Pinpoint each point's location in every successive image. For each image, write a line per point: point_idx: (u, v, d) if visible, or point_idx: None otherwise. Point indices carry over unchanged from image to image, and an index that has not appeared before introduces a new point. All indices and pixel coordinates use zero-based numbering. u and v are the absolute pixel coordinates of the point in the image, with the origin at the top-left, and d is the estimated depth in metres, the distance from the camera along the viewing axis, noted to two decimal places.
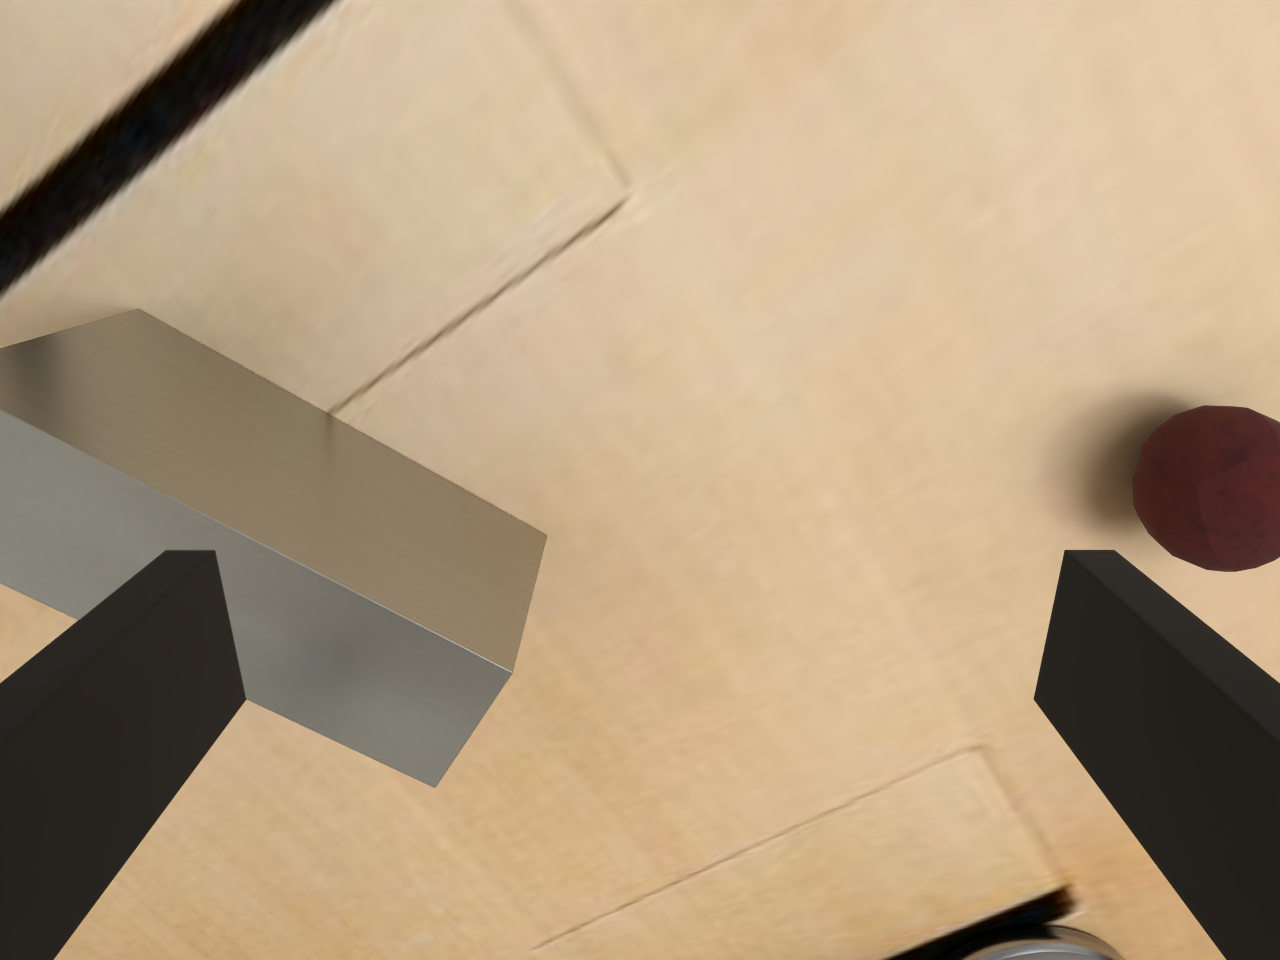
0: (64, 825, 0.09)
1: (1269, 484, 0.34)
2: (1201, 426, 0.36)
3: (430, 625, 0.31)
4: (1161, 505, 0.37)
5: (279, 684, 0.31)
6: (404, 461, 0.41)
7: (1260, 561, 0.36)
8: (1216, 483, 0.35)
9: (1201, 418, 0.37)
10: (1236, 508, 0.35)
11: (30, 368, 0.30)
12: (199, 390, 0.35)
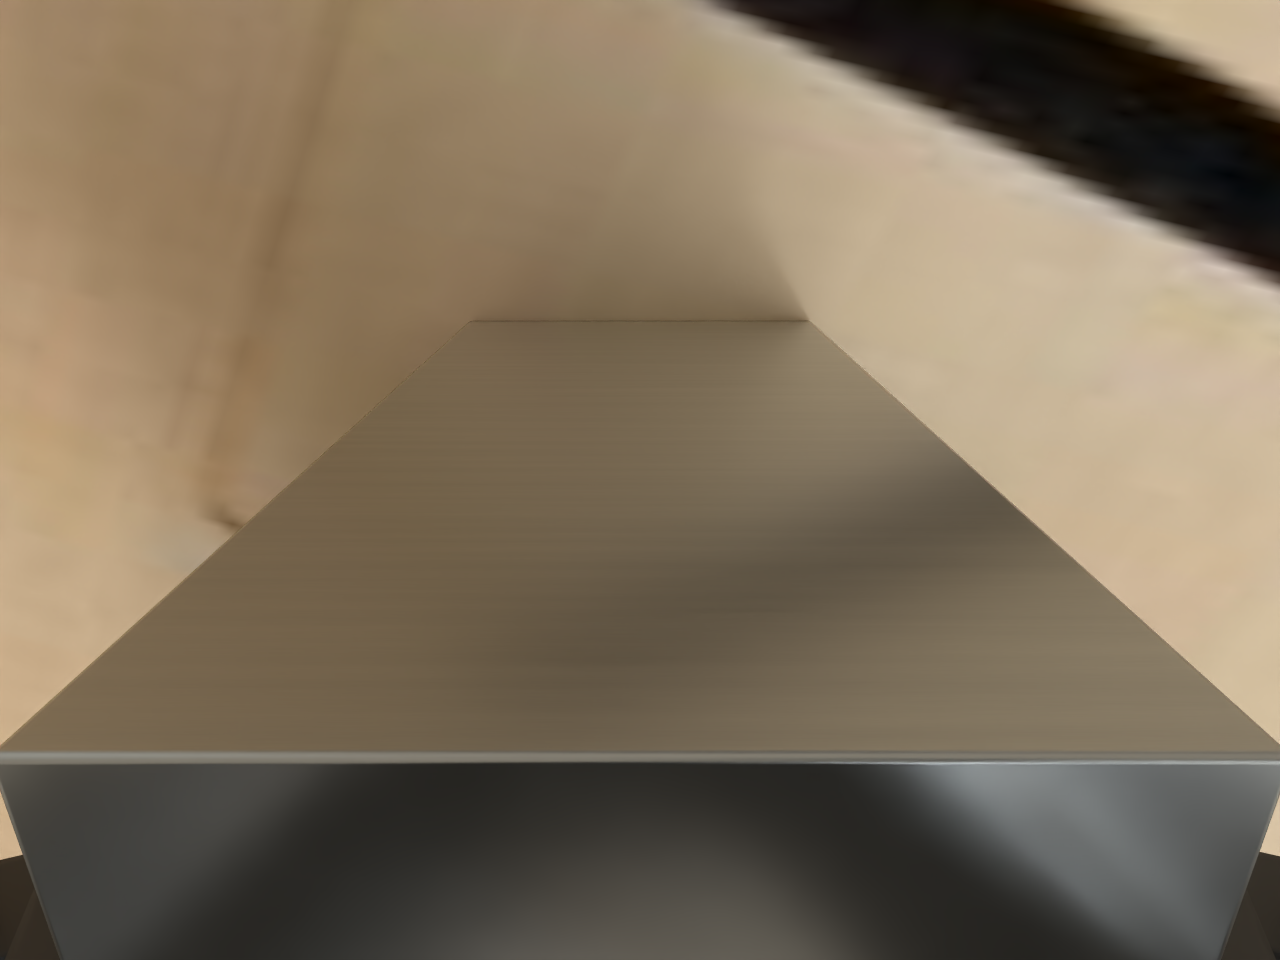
0: None
1: None
2: None
3: None
4: None
5: None
6: None
7: None
8: None
9: None
10: None
11: None
12: None
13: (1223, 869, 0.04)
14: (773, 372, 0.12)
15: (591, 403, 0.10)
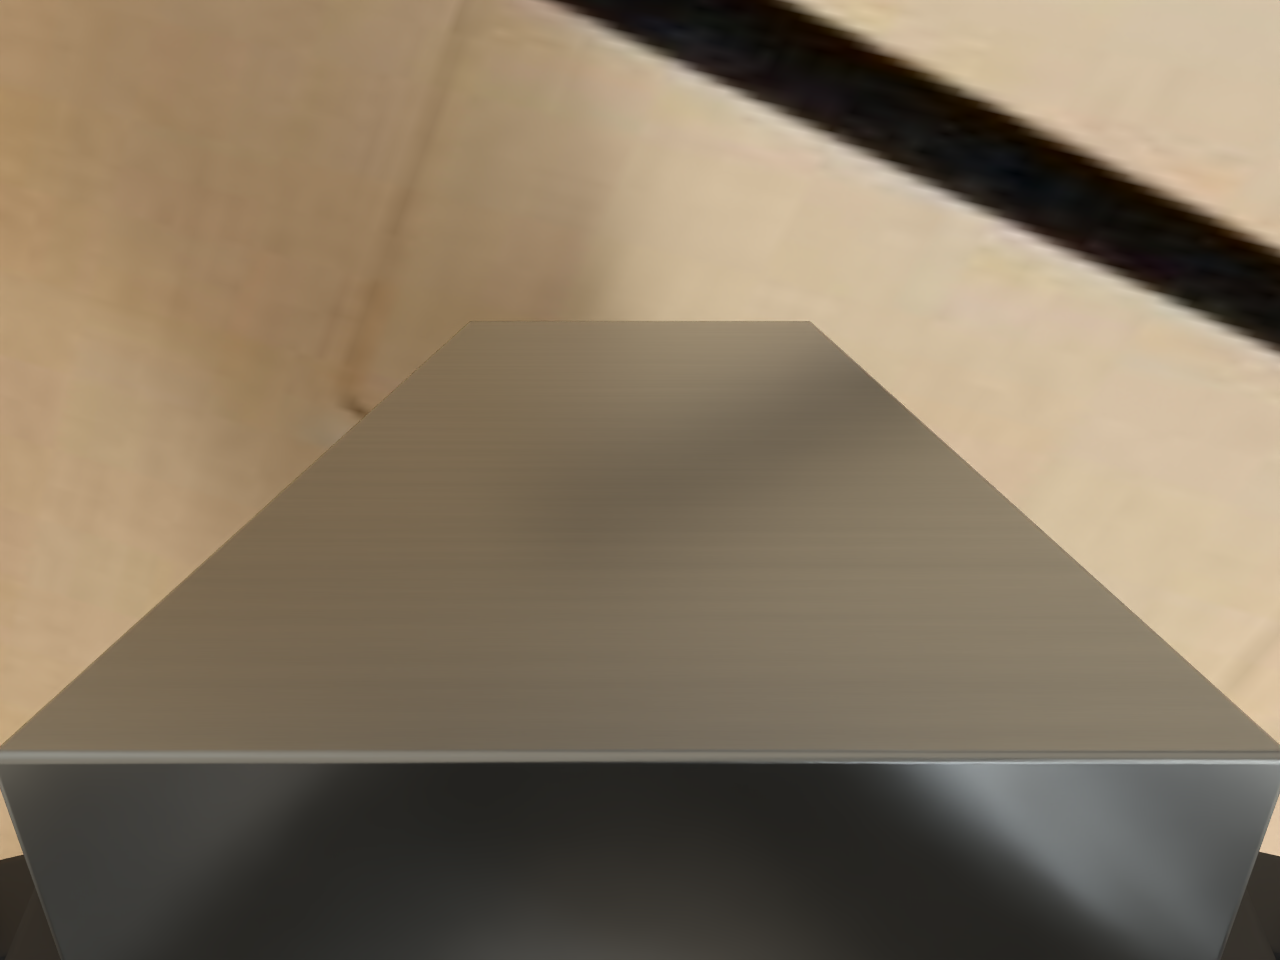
0: None
1: None
2: None
3: None
4: None
5: None
6: None
7: None
8: None
9: None
10: None
11: None
12: None
13: (1222, 866, 0.04)
14: (773, 372, 0.12)
15: (591, 404, 0.10)
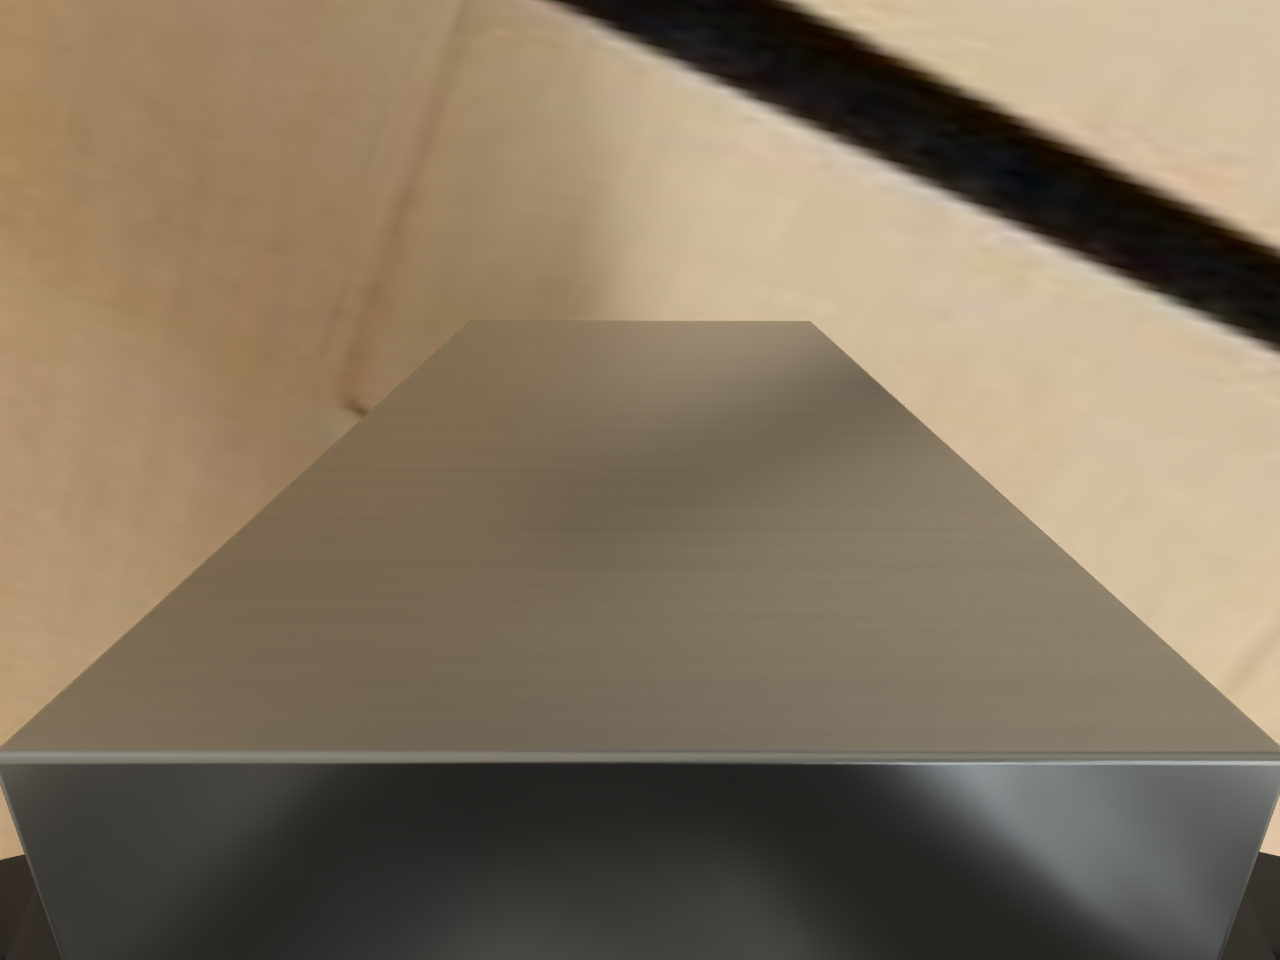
0: None
1: None
2: None
3: None
4: None
5: None
6: None
7: None
8: None
9: None
10: None
11: None
12: None
13: (1224, 868, 0.04)
14: (773, 372, 0.12)
15: (592, 403, 0.10)
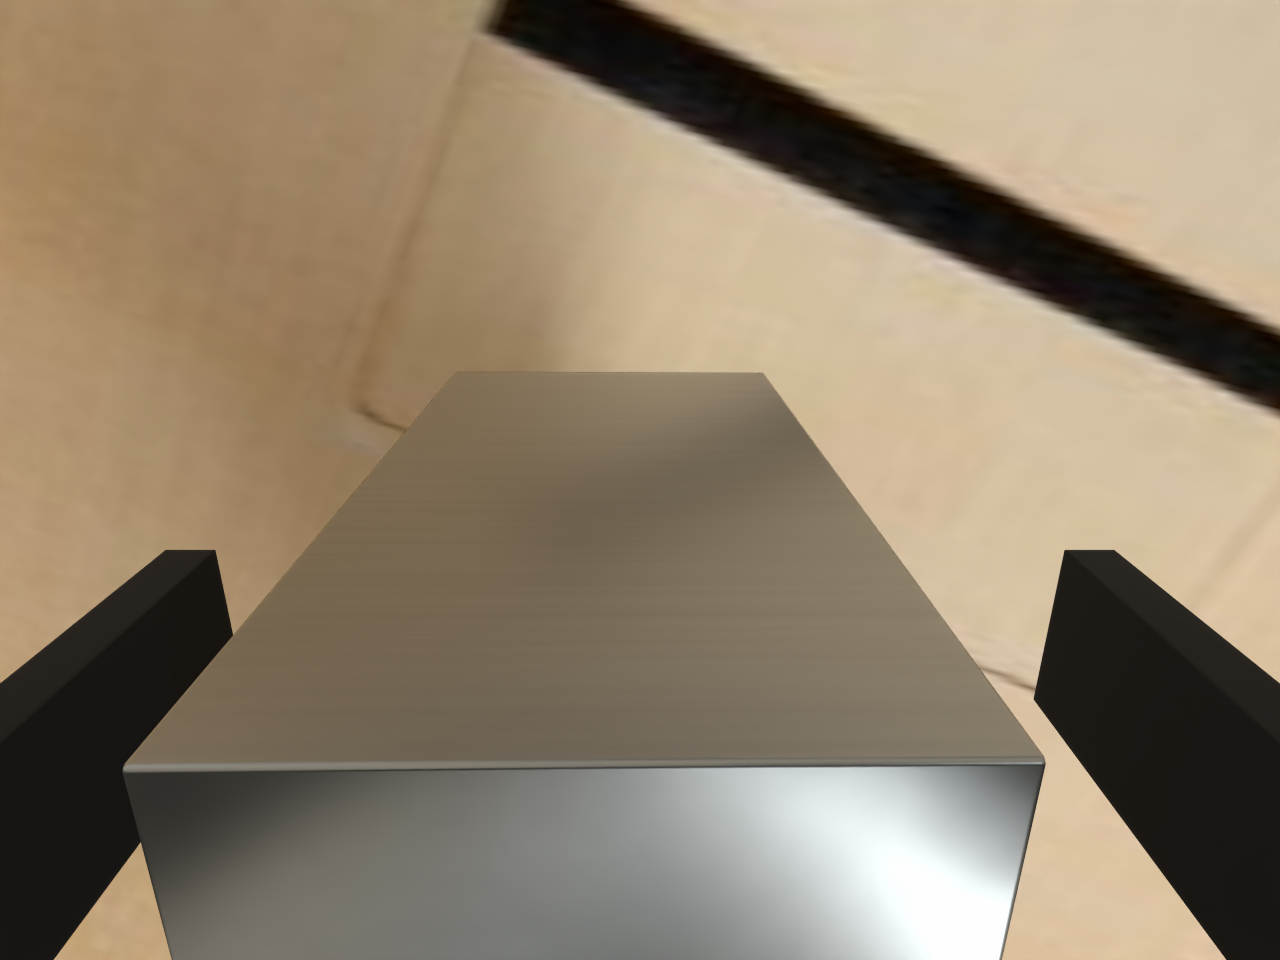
0: (64, 825, 0.09)
1: None
2: None
3: None
4: None
5: None
6: None
7: None
8: None
9: None
10: None
11: None
12: None
13: (1007, 839, 0.06)
14: (723, 429, 0.14)
15: (564, 462, 0.12)
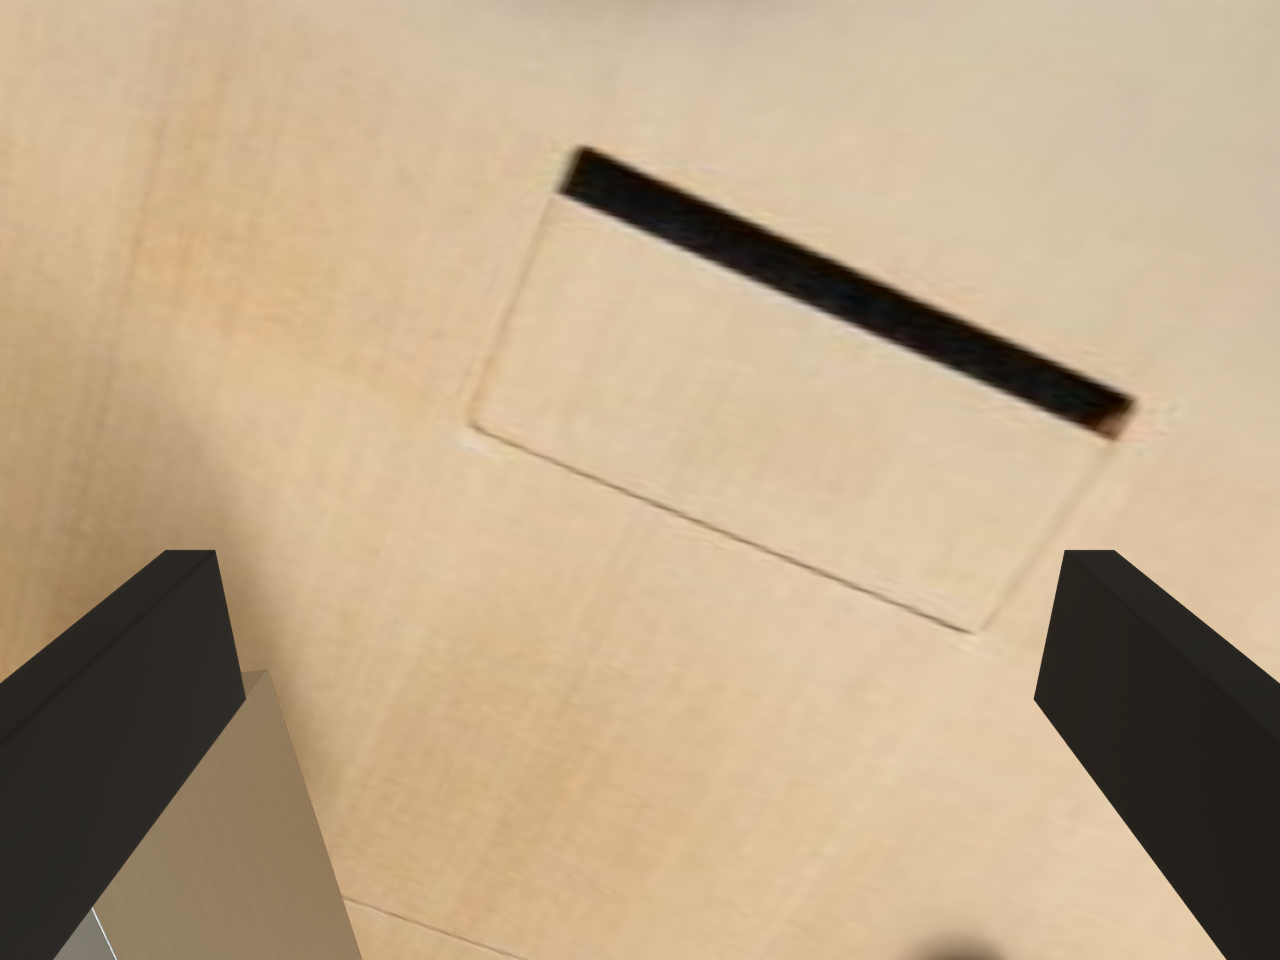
0: (65, 825, 0.09)
1: None
2: None
3: None
4: None
5: None
6: (342, 917, 0.40)
7: None
8: None
9: None
10: None
11: (163, 856, 0.28)
12: (258, 838, 0.34)
13: (92, 923, 0.25)
14: None
15: None
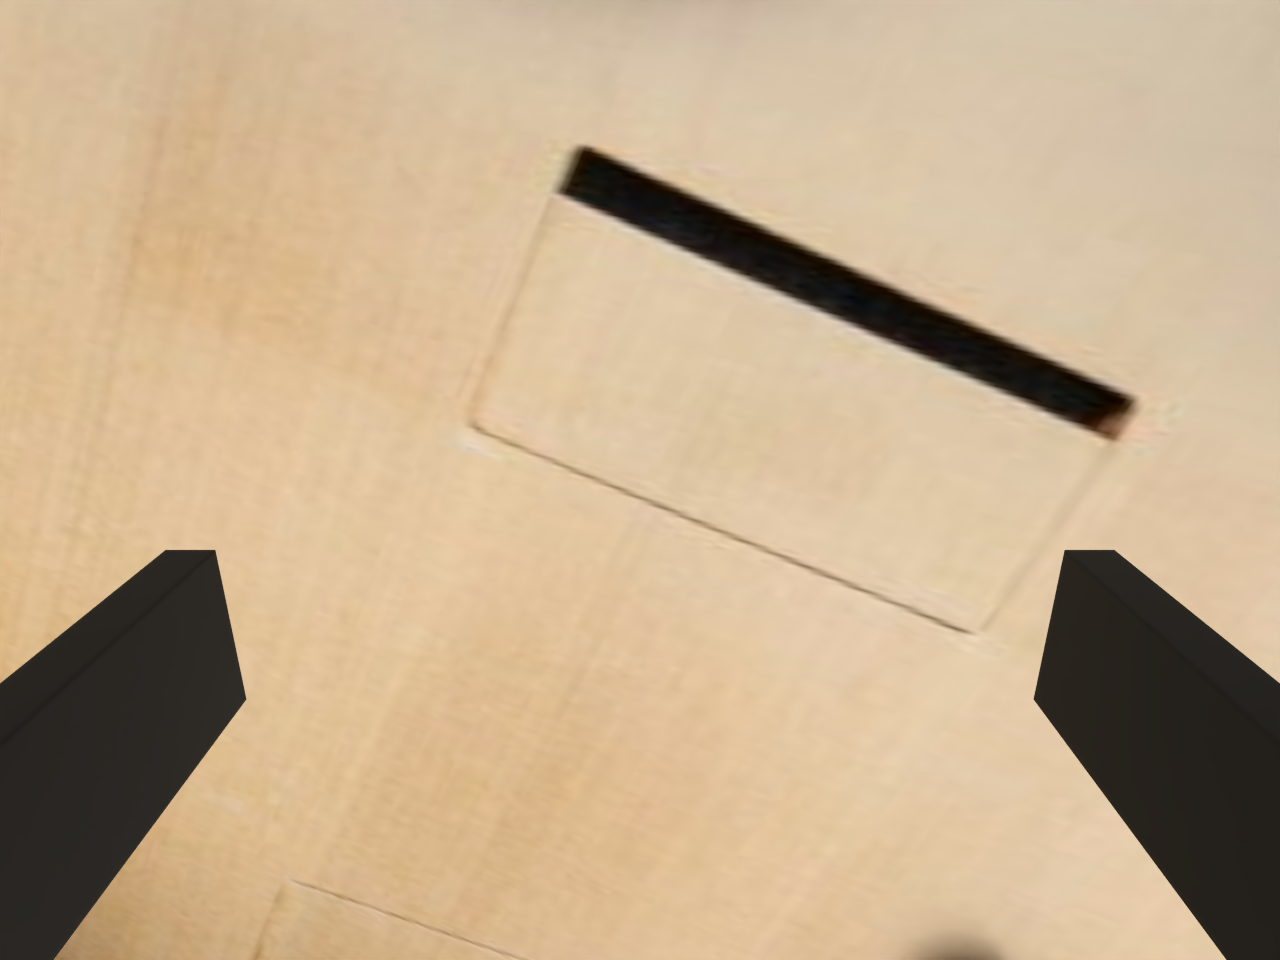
0: (65, 825, 0.09)
1: None
2: None
3: None
4: None
5: None
6: None
7: None
8: None
9: None
10: None
11: None
12: None
13: None
14: None
15: None
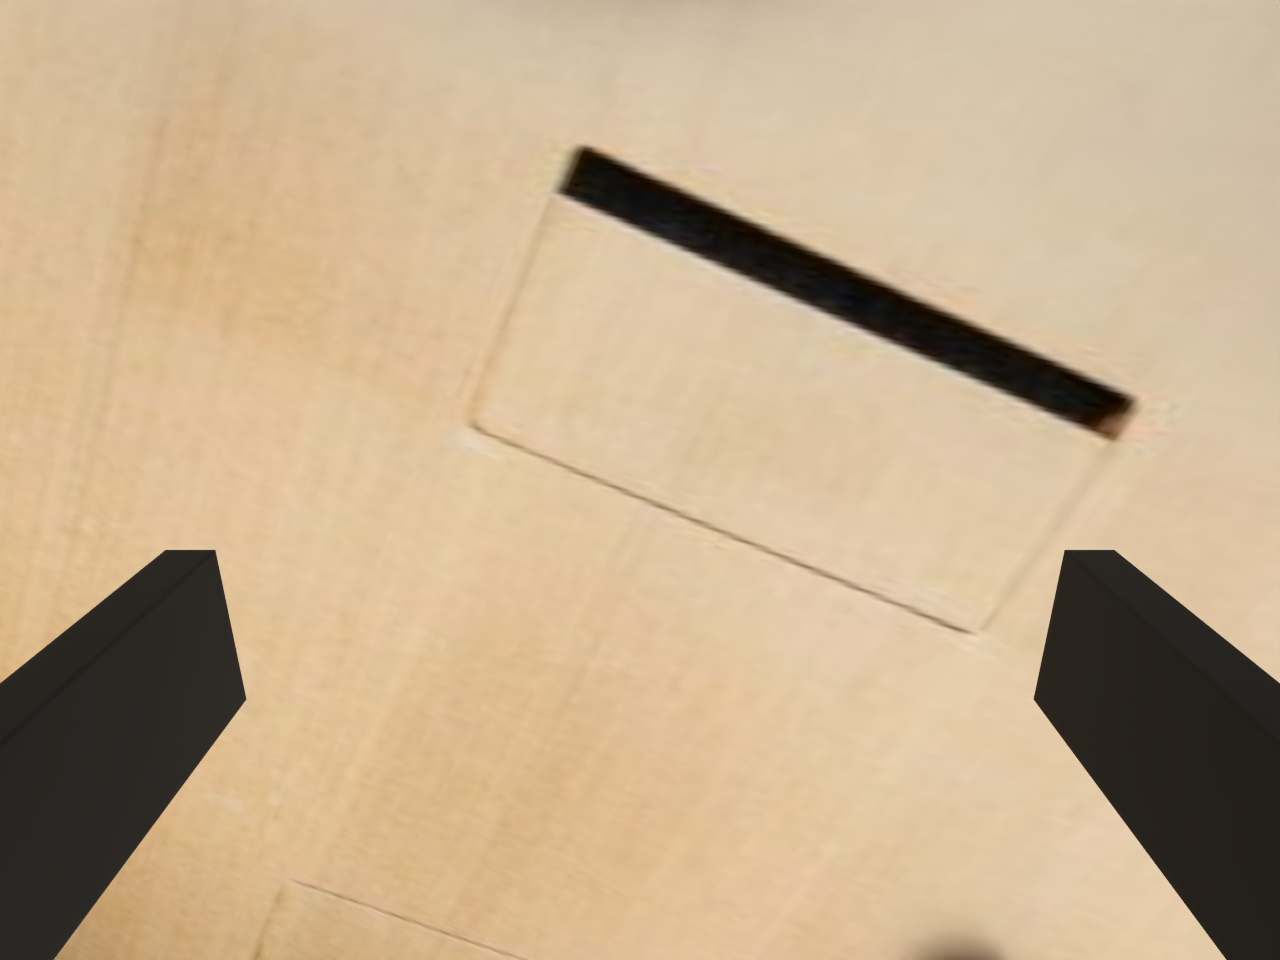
0: (65, 825, 0.09)
1: None
2: None
3: None
4: None
5: None
6: None
7: None
8: None
9: None
10: None
11: None
12: None
13: None
14: None
15: None
